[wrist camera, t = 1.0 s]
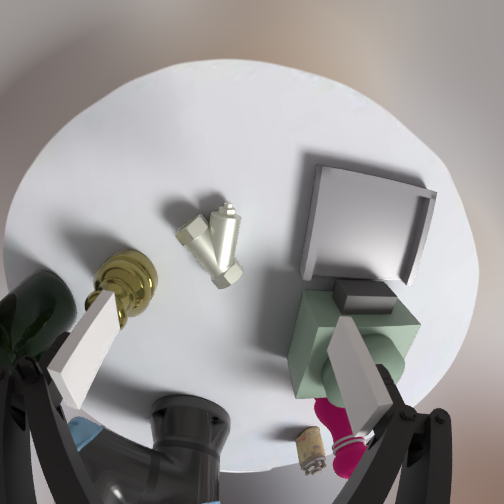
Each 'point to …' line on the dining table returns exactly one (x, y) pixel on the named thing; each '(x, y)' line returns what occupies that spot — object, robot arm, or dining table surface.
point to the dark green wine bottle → (34, 317)
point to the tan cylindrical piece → (311, 450)
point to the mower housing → (367, 322)
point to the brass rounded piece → (126, 283)
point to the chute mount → (365, 227)
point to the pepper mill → (341, 437)
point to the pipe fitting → (214, 244)
